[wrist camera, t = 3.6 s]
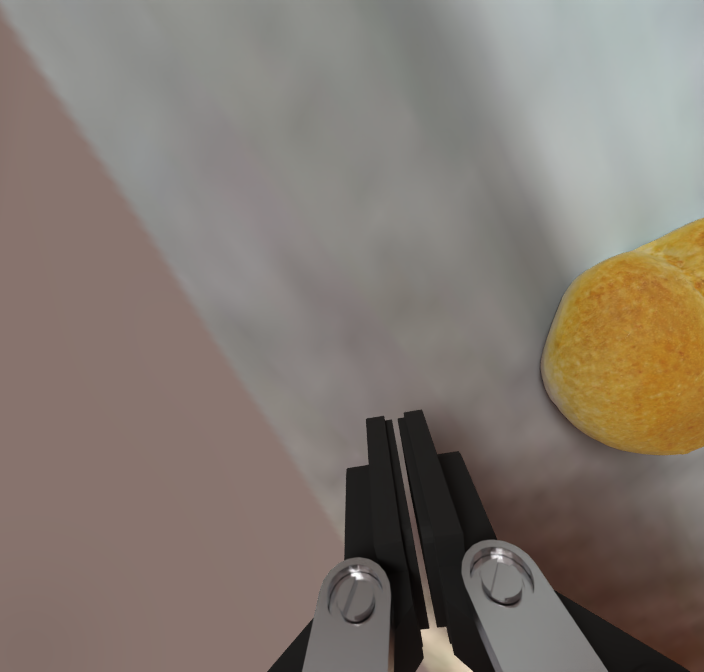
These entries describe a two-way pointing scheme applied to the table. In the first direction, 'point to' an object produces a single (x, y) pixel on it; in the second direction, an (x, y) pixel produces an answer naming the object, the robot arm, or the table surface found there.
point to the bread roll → (634, 347)
